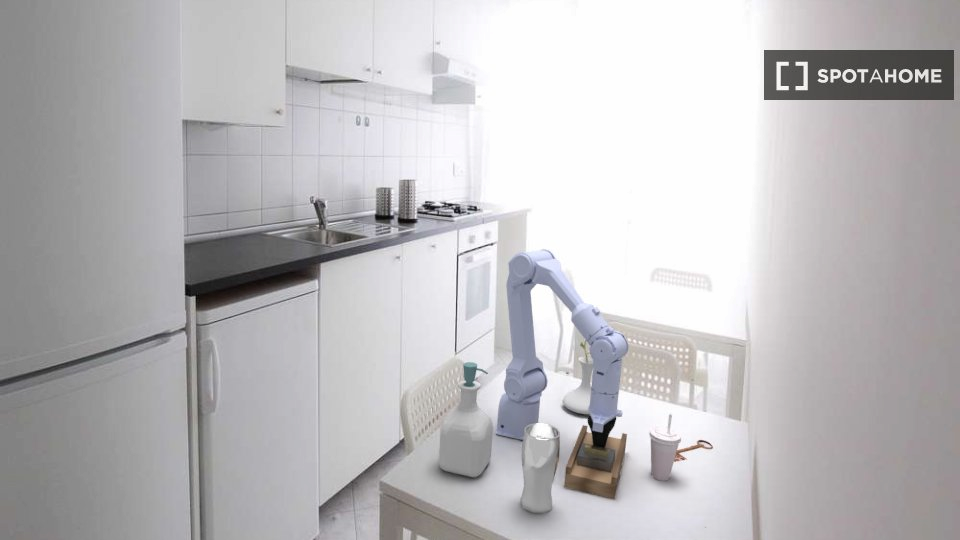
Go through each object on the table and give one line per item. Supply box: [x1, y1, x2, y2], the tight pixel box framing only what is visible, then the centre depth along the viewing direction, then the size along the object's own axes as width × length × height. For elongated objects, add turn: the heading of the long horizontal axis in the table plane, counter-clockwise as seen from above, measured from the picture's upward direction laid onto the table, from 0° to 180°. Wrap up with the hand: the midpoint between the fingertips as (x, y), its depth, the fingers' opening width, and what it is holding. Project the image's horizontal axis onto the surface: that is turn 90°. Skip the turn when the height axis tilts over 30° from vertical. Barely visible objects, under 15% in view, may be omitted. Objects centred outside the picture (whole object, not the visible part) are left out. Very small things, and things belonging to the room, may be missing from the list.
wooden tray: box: [563, 424, 628, 500], centre depth 122 cm, size 10×20×4 cm, turn 160°
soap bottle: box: [438, 361, 494, 478], centre depth 118 cm, size 10×10×23 cm
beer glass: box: [519, 422, 561, 515], centre depth 107 cm, size 7×7×15 cm
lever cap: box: [577, 443, 615, 472], centre depth 119 cm, size 7×6×3 cm
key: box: [674, 439, 714, 463], centre depth 132 cm, size 6×1×15 cm
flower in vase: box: [562, 339, 593, 415], centre depth 150 cm, size 13×11×25 cm
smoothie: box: [648, 413, 682, 481], centre depth 119 cm, size 6×6×14 cm
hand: (599, 448), depth 122 cm, fingers closed
